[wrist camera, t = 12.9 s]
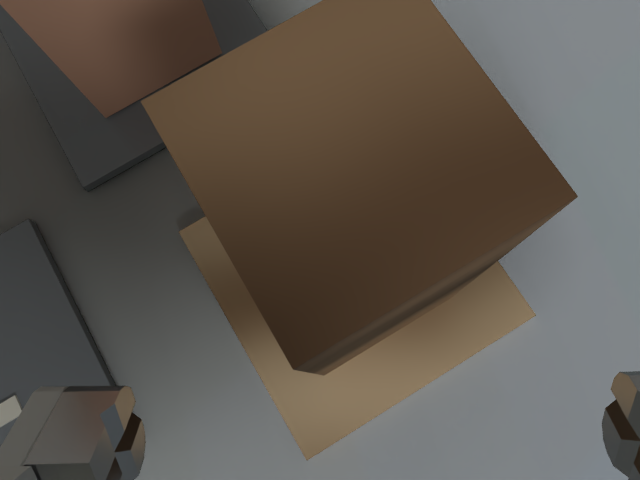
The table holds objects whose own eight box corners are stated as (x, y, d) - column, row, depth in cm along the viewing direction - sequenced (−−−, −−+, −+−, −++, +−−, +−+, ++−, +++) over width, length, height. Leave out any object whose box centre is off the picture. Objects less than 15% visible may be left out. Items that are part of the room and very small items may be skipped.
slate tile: (-5, 14, 21) (-14, 6, 21) (186, -88, 22) (182, -99, 21) (88, 191, 19) (81, 186, 19) (293, 74, 20) (292, 66, 20)
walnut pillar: (251, 249, 18) (140, 100, 9) (373, 178, 19) (398, -42, 9) (324, 375, 17) (293, 369, 8) (451, 298, 18) (578, 196, 8)
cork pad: (181, 234, 19) (178, 231, 19) (389, 113, 20) (390, 107, 19) (307, 458, 17) (306, 460, 17) (531, 316, 18) (536, 315, 17)
